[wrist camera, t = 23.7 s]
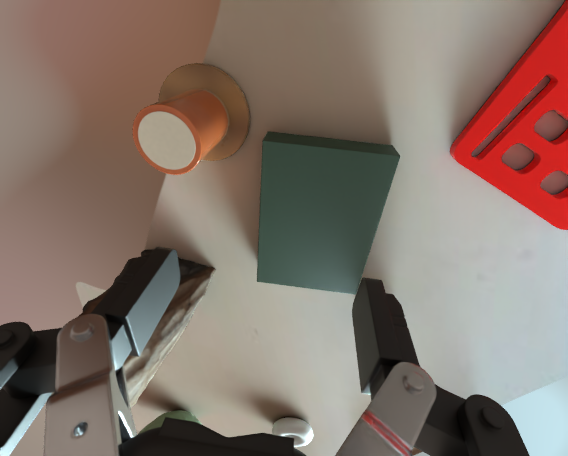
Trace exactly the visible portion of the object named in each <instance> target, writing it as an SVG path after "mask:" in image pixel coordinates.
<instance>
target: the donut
mask: <svg viewBox="0 0 568 456" xmlns="http://www.w3.org/2000/svg"><path fill="white" fill-rule="evenodd" d="M272 433H273V435H278V436H284V437H291V438H294V446H303V445H306V444H308V443H309V442H310V441H311V439H312V437H313V432H312V428H311V426H310V425H309V424H308V423H307V422H305V421H303V420H301V419H298V418H282V419H279V420H278V421H276V422H275V423H274V425H273V429H272Z"/></svg>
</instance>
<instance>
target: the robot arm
mask: <svg viewBox="0 0 568 456" xmlns="http://www.w3.org/2000/svg"><path fill="white" fill-rule="evenodd" d="M179 283H180V270H179V263H178V256H177V251H176V250H175V249H168V248H162V247H156V248H155V249H154V250H153V252H152V253H151V254H150V256H149V257H148V258H146V257H142V258H140V259H139V260H137V261H136V262H134V263H132V264H131V265H130V266H129V267H128V269H127V270H126V271H125V272H124V273H123V276H121V277H120V278H119V280H118V281H117V283H115V284H114V286H113V287H112V288H111V289H110V290H109V292H108V293H107V294H106V295H105V296H104V298H103V299H102V300H101V301H100V302H99V304H98V305H97V306H96V307H95V308H94V310H93V311H92V312H91V313H90V314H86V315H82V316H79V317H77V318H75V319H73V320H71V321H69V322H68V323H67V324H66V325H65V326H63V328H58V329H50V330H42V331H34V332H33V331H32V329H31V328H30V326H29V325H28V324H26V323H24V322H11V323H7V324H3V325H1V326H0V389H1V388H2V389H1V390H0V456H9V455H10V454H11V452H12V451H13V449H14V448H15V447H16V445H17V444H18V442H19V441H20V439H21V438H22V436H23V435H24V433H25V432H26V431H27V429H28V428H29V426H30V425H31V423H32V422H33V420H34V419H35V417H36V416H37V415H38V413H39V412H40V410H41V409H42V407H43V406H44V404H45V403H46V401H47V403H46V419H45V436H44V456H306V455H305V454H303V453H302V452H301V451H299V450H297V449H295V448H294V438H291V437H284V436H278V435H272V434H266V433H258V434H251V435H244V436H237V437H225V436H222V435H220V434H219V433H217V432H215V431H213V430H211V429H209V428H207V427H205V426H203V425H201V424H199V423H197V422H193V421H187V420H181V419H175V418H169V417H165V419H164V421H163V424H162V426H161V427H157V428H153V429H150V430H147V431H145V432H142V433H140V434H138V435H137V432H136V428H135V424H134V420H133V417H132V413H131V407H130V401H129V395H128V388H127V382H126V376H125V369H124V365H123V363H124V362H125V360H126V359H127V357H128V355H130V356H137V357H139V356H140V355H141V353H142V351H143V349H144V347H145V346H146V344H147V342H148V340H149V339H150V337H151V335H152V333H153V331H154V330H155V328H156V326H157V324H158V323H159V321H160V319H161V317H162V316H163V314H164V312H165V310H166V308H167V307H168V305H169V303H170V301H171V300H172V298H173V296H174V294H175V293H176V291H177V289H178V286H179ZM352 317H353V326H354V334H355V343H356V351H357V360H358V368H359V377H360V386H361V393H364V394H371V400H372V401H371V403H370V404H369V406H368V407H367V409H366V410H365V412H364V413H363V414H362V415H361V417H360V418H359V420H358V421H357V423H356V424H355V426H354V428H353V429H352V431H351V432H350V434H349V435H348V437H347V438H346V440H345V441H344V443H343V444H342V446H341V447H340V449H339V451H338V452H337V454H336V455H335V456H412V454H411V452H412V449H413V447H415V448H417V449H419V450H421V451H423V452H425V453H427V454H429V455H430V456H529V454H528V451H527V449H526V447H525V445H524V443H523V440H522V438H521V436H520V434H519V431H518V429H517V427H516V425H515V423H514V421H513V419H512V418H511V416H510V415H509V414H508V412H507V411H506V410H505V409H504V408H503V407H502V406H501V405H499V404H498V403H497V402H495V401H494V400H492V399H490V398H488V397H486V396H483V395H471V396H470V397H468V398H467V399H466V400H465V399H463V398H461V397H459V396H457V395H455V394H452V393H450V392H448V391H446V390H444V389H442V388H440V387H439V386H437V385H436V384H434V382H433V380H432V378H431V377H430V376H429V374H428V373H427V372H426V371H425V370H423V369H422V368H421V367H420V365H419V362H418V359H417V356H416V352H415V349H414V346H413V343H412V339H411V336H410V333H409V329H408V328H407V323H406V320H405V318H404V313H403V310H402V306H401V304H400V303H399V302H398V300H397V299H396V298H395V296H394V295H393V294H387V293H385V290H384V286H383V282H382V281H381V280H377V279H370V278H362V280H361V282H360V285H359V288H358V291H357V294H356V297H355V299H354V303H353V309H352ZM53 392H55V393H54V394H53V395H51V394H52V393H53Z"/></svg>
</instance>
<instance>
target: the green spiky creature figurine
mask: <svg viewBox="0 0 568 456" xmlns="http://www.w3.org/2000/svg"><path fill="white" fill-rule="evenodd" d="M165 417H169V418H175V419H181V420H187V421H193V422H197V423H199V424H201V423H200V422H199V420H198V419H197V418H196V417H195V416H193V415H192V414H191V413H189V412H187V411H180V410H178V411H171V412H167V413H164V414H162V415H161V416H159V417H158V418H156V419H155V420H154V421H152V422H151V423H150V424H148V425H147V426H146V427H145V428H144V429H142V430H141V431H140V432H139V434H140V433H142V432H145V431H147V430H150V429H153V428H157V427H161V426H162V424H163V421H164V419H165Z"/></svg>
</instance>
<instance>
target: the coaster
mask: <svg viewBox="0 0 568 456" xmlns="http://www.w3.org/2000/svg"><path fill="white" fill-rule="evenodd" d="M194 88H203V89H207V90H209V91H212V92H213V93H215V94H216V95H217V96H218V97H219V98H220V99H221V100H222V101H223V102H224V104H225V106H226V108H227V110H228V113H229V119H230V124H229V129H228V132H227V134H226V135H225V137H224V138H223V139H222V140H221V141H220V142H219V143H218V144H217V145H216V146H215V147H214V148H213V149H212V150H211V151H210V152H209V153H208V154H207V155H206V156H205V157H204V158H203V159H202V160H208V161H215V160H221V159H224V158H227V157H229V156H231V155H232V154H234V153H235V152H236V151H237V150H238V149H239V148H240V147H241V145H242V144H243V143H244V141H245V139H246V137H247V134H248V131H249V126H250V113H249V107H248V104H247V101H246V98H245V96H244V94H243V92H242V90H241V89H240V87H239V86H238V85H237V83H236V82H235V81H234V80H233V79H232V78H231V77H230V76H229V75H228V74H226V73H225V72H223V71H222V70H220V69H218V68H216V67H214V66H211V65H207V64H198V63H195V64H188V65H185V66H181V67H179V68H177V69H176V70H174V71H173V72H172V73H171V74H170V75H169V76H168V77H167V78H166V80H165V81H164V83H163V85H162V87H161V90H160V94H159V102H160V101H163V100H165V99H168V98H170V97H173V96H175V95H178V94H181V93H183V92H186V91H188V90H190V89H194Z"/></svg>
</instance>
